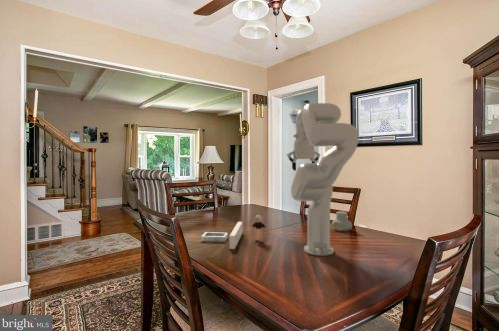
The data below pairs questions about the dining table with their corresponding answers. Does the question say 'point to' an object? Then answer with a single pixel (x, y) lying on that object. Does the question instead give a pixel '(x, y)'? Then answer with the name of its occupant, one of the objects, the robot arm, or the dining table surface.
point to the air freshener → (341, 222)
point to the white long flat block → (235, 235)
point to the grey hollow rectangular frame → (214, 237)
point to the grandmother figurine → (258, 228)
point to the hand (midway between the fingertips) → (303, 170)
